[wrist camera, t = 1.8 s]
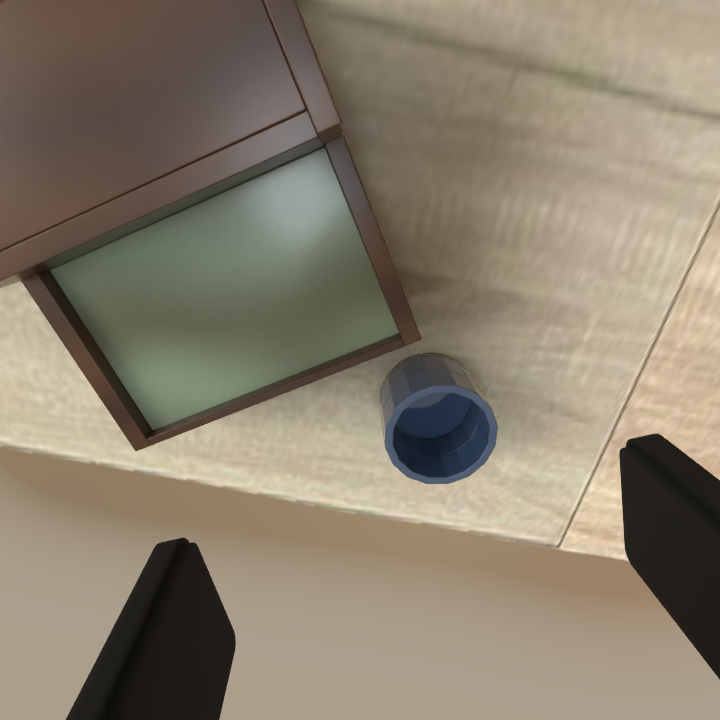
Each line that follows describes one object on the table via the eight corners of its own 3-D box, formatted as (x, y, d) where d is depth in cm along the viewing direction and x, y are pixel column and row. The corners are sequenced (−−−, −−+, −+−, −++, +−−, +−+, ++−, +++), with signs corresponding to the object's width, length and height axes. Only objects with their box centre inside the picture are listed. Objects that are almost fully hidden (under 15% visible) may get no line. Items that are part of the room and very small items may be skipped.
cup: (457, 338, 33) (477, 368, 28) (486, 420, 35) (510, 462, 30) (365, 374, 34) (368, 410, 29) (399, 452, 36) (408, 498, 31)
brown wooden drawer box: (0, 131, 28) (-232, 103, 17) (285, -9, 26) (238, -149, 15) (169, 406, 34) (84, 519, 23) (408, 311, 32) (442, 383, 21)
